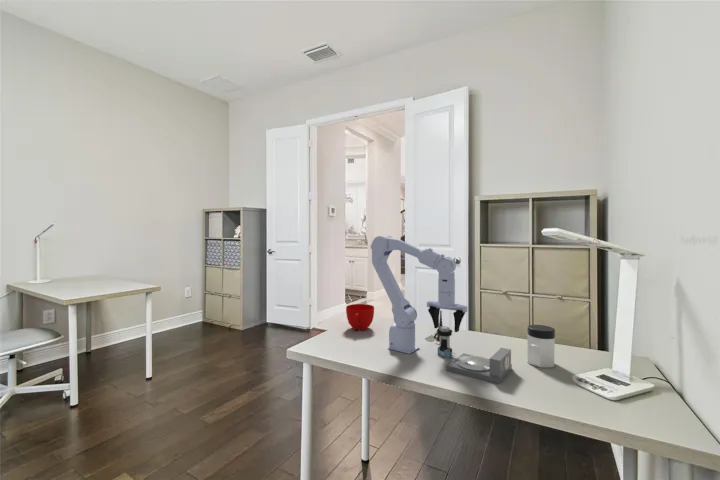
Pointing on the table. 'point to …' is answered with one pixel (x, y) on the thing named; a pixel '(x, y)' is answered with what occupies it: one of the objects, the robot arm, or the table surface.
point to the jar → (541, 346)
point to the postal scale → (483, 366)
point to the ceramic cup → (360, 315)
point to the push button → (445, 341)
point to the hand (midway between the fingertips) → (446, 329)
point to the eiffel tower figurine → (431, 338)
